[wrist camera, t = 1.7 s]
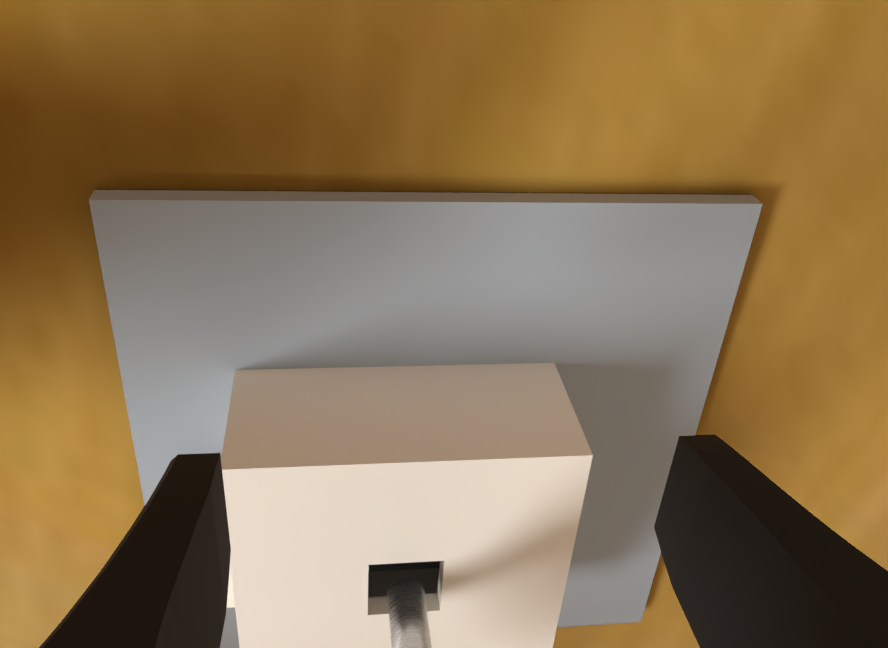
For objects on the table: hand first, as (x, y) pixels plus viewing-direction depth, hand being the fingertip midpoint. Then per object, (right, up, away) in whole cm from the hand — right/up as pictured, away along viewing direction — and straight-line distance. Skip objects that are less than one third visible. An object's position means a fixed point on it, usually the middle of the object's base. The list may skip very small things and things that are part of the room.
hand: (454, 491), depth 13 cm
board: (-1, -1, +13) cm, 13 cm away
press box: (-2, -2, +12) cm, 13 cm away
